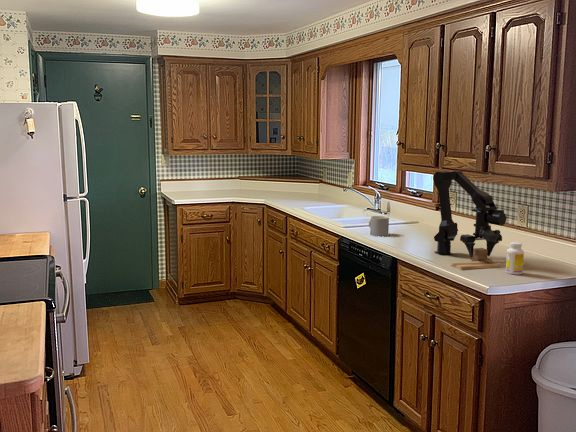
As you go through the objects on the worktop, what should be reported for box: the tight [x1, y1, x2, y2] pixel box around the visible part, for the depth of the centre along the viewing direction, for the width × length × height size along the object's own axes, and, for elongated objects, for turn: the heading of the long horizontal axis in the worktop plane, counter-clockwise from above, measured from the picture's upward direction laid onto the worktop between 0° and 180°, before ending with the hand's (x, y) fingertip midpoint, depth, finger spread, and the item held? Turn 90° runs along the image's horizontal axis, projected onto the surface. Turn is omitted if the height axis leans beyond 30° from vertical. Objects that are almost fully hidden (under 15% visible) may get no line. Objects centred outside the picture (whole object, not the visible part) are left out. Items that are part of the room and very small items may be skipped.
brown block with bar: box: [471, 247, 494, 263], centre depth 265 cm, size 10×5×6 cm, turn 19°
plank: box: [450, 260, 501, 271], centre depth 260 cm, size 8×20×1 cm, turn 109°
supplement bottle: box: [505, 241, 525, 276], centre depth 247 cm, size 7×7×13 cm
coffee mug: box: [368, 215, 390, 237], centre depth 332 cm, size 13×10×10 cm
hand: (480, 256), depth 268 cm, fingers open, 9 cm apart
